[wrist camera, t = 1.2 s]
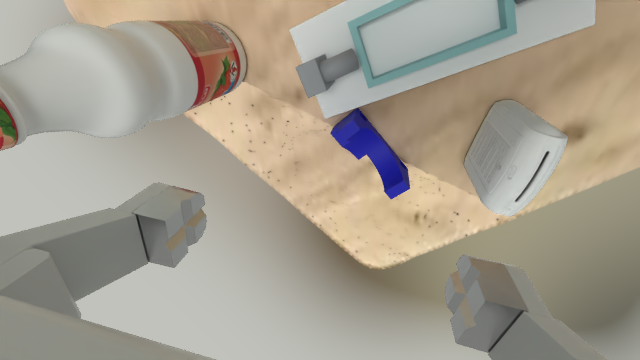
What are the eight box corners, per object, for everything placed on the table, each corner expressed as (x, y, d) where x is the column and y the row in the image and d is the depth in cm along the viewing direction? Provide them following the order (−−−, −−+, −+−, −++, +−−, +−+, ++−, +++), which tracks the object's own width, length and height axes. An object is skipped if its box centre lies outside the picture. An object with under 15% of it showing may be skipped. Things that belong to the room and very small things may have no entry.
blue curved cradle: (334, 126, 41) (326, 141, 35) (357, 107, 38) (352, 120, 33) (383, 183, 43) (382, 204, 38) (407, 168, 41) (409, 188, 36)
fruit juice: (229, 9, 36) (-88, -14, 12) (259, 81, 39) (63, 170, 16) (176, 35, 39) (-155, 57, 15) (208, 99, 43) (-16, 196, 19)
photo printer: (488, 173, 39) (524, 230, 28) (458, 166, 39) (482, 219, 29) (529, 102, 33) (592, 140, 23) (493, 95, 34) (539, 128, 23)
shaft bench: (586, -121, 24) (651, -168, 18) (586, 24, 29) (637, 25, 23) (292, 29, 35) (272, 31, 29) (327, 115, 40) (315, 132, 34)
